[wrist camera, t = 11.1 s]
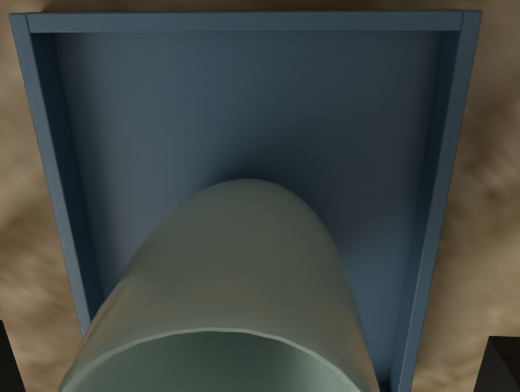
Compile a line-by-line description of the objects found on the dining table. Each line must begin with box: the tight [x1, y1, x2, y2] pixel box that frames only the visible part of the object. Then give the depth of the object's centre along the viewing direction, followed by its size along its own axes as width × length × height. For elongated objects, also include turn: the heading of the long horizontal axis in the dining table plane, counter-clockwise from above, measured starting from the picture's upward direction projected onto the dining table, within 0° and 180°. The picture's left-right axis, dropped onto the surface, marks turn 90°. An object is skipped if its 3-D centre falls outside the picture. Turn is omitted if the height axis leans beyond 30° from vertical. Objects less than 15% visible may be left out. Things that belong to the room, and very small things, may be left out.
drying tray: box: [9, 9, 482, 392], centre depth 18 cm, size 15×18×2 cm
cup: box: [57, 178, 380, 392], centre depth 14 cm, size 8×8×10 cm
